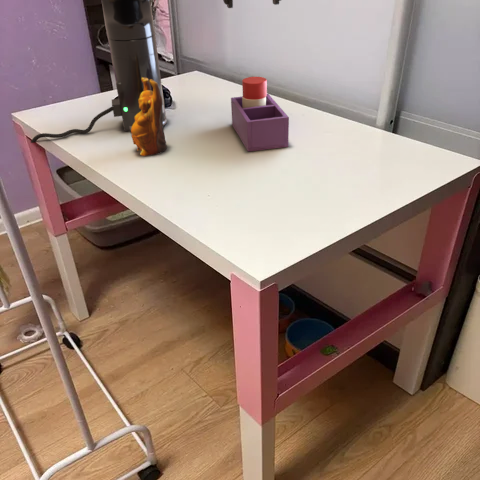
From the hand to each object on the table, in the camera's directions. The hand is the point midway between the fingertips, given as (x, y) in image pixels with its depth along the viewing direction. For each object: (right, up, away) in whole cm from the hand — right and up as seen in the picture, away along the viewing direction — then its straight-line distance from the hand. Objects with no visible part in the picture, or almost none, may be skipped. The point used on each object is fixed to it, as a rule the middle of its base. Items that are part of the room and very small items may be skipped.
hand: (252, 5), depth 92 cm
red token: (+1, -12, +10) cm, 16 cm away
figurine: (-20, -24, +8) cm, 32 cm away
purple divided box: (+2, -19, +11) cm, 23 cm away
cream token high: (+1, -14, +12) cm, 19 cm away
